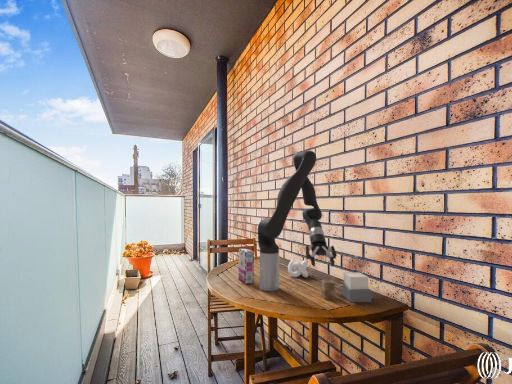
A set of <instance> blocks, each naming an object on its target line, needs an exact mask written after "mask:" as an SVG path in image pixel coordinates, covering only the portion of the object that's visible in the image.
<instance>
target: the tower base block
mask: <svg viewBox="0 0 512 384" xmlns="http://www.w3.org/2000/svg"><path fill="white" fill-rule="evenodd" d="M341 287H342V291H341V292H342V296H343V297H344V298H346V300H349V301H350V302H349V301H348V302H349V303H372V302H373V301H372V299H373V297H372V289H370V288H369V287H368V289H350V288H348V287H347V286H346V285H345V284H344V283H342V285H341Z"/></svg>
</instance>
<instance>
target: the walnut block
mask: <svg viewBox="0 0 512 384" xmlns="http://www.w3.org/2000/svg"><path fill="white" fill-rule="evenodd" d="M321 297H322V298H323V300H327V301H328V300H329V301H330V300H332V301H334V300H336V282H335V281H334V280H333V279H321Z"/></svg>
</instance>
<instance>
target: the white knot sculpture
mask: <svg viewBox="0 0 512 384" xmlns="http://www.w3.org/2000/svg"><path fill="white" fill-rule="evenodd" d="M308 267H309V262H308V260H307V259H304V260H302V262H301V261H300V260H298V259H296V258H295V259H291V260H290V261H289V263H288V265H287V271H288V275H289V276H291V277H292V278H298V277H301V275H302V277H304V278H308V276H309V273H308V271H307V268H308Z"/></svg>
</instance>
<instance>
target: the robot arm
mask: <svg viewBox="0 0 512 384" xmlns="http://www.w3.org/2000/svg"><path fill="white" fill-rule="evenodd" d="M292 160H293V165H294V168H295V172H294V173H293V174H291V176H289V177H288V178H287V179H286V180H285V181H284V182H283V184H282V185H281V187H280V189H279V192H278V194H277V200H276V207H275V210H274V212H273V213H272V215H271V217H270V218H263V219H262V220H261V221H259V223H258V226H257V242H258V243H257V244H258V245H257V246H258V247H259V290H260V291H263V292H264V291H265V292H275V291H278V290H279V289H280V247H279V245H277V243H276V241H275V239H277V238H279V237H280V236H281V234H282V231H283V229H284V226H285V224H286V221H287V218H288V216H289V214H290V212H291V209H292V207H293V206H294V203H295V201H296V199H297V197H298V195H299V194H300V191H301V192H302V199H303V204H304V205H305V206H307V207H308V206H309V207H310V206H311V207H312V208H306V209H304V210H303V211H302V213H301V214H302V218H303V220H304V222H305V224H306V225H307V229H308V235H309V242H310V246H309V245H306V246H305V249H304V250H305V258H306V260H308V259H309V260H310V265H311V266H312V267H315V266H316V262H315V261H316V260H315V258H316V256H325V257H326V258H328V259H329V262H330V263H329V264H330V266H331V267H334V266H335V259H336V258H337V256H338V255H337V252H336V249H335V246H334V245H331V246H328V244H327V241H326V236H325V232H324V230H323V227H322V226H323V225H322V223H321V221H320V220H321V219H322V217H323V213H322V211H321V208H320V206H319V204H318V202H317V201H318V200H317V195H316V189H315V187H314V185H313V183H312V182H311V180H310V179H309V174H310V173H311V171H312V170H313V168H314V166H316V162H317V156H316V152H314V151H313V150H301V151H297V152H295V153H294V155H293V159H292ZM310 252H312V253H311V254H310Z"/></svg>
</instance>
